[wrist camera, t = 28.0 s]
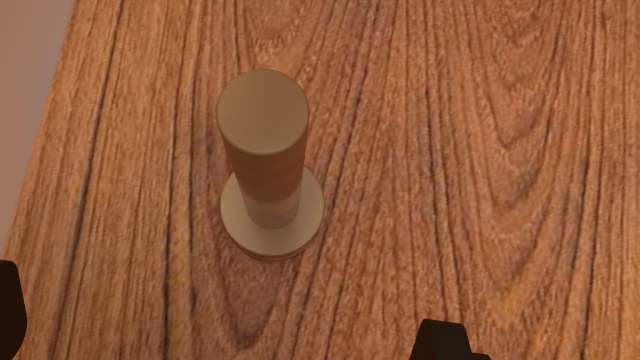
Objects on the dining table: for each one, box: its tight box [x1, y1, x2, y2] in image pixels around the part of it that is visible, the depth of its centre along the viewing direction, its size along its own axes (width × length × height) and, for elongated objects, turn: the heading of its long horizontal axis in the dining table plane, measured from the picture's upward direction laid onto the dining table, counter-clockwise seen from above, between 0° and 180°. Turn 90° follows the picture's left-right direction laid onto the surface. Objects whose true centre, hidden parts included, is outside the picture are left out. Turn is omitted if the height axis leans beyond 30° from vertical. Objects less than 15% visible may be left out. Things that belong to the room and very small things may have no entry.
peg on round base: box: [216, 69, 325, 261], centre depth 18 cm, size 4×4×12 cm
